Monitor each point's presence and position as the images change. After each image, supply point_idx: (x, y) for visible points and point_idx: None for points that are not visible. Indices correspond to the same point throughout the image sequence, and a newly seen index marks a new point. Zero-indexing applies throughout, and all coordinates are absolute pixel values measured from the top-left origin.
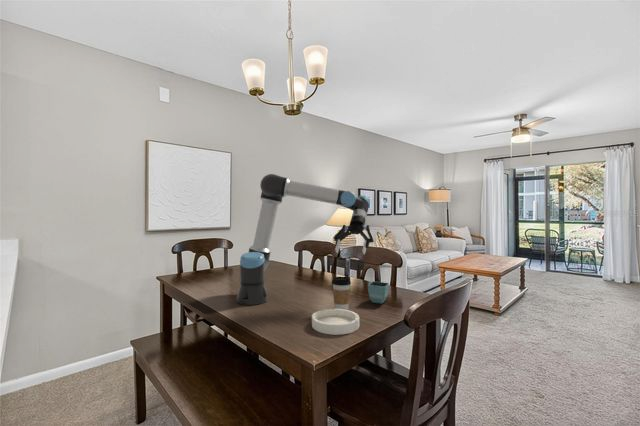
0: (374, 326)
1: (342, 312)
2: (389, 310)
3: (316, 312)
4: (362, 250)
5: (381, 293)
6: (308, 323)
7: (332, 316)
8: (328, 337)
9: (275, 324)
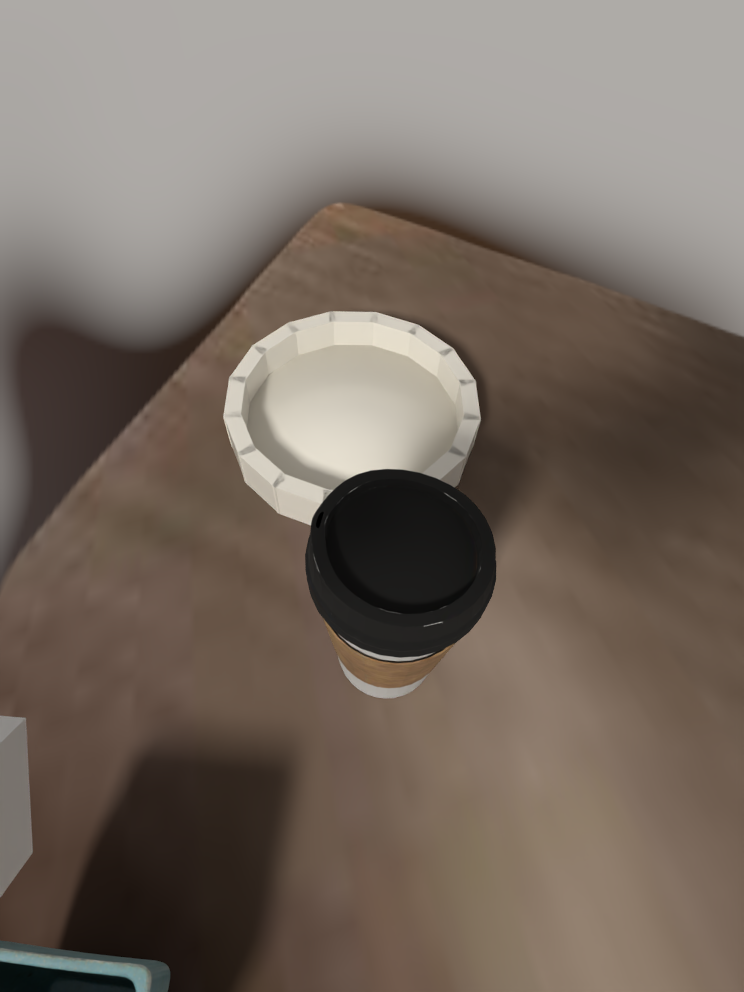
0: (153, 463)
1: None
2: None
3: (471, 418)
4: (12, 727)
5: (14, 943)
6: (486, 413)
7: None
8: None
9: (619, 368)
